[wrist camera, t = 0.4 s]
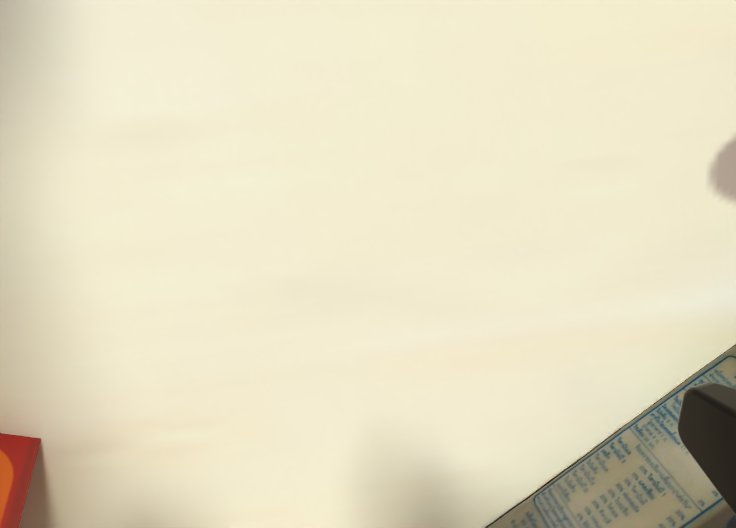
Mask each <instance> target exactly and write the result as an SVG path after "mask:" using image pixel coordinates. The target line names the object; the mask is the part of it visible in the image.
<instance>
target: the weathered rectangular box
mask: <svg viewBox="0 0 736 528" xmlns="http://www.w3.org/2000/svg"><path fill="white" fill-rule="evenodd" d="M707 382H714V383H719V384H722V385H725V386H728V387H732V388H735V389H736V345H735V346H733V347H732V348H731V349H729V350H728V351H726V352H725V353H723V354H722V355H721V356H719V357H718V358H716V359H715V360H713V361H712V362H710V363H709V364H708V365H706V366H705V367H703V368H702V369H701V370H699V371H698V372H696V373H695V374H694V375H692V376H691V377H689V378H688V379H687V380H685V381H684V382H683V383H681V384H680V385H679V386H678V387H676V388H675V389H674V390H672V391H671V392H670V393H669V394H667V395H666V396H665V397H663V398H662V399H660V400H659V401H658V402H656V403H655V404H654V405H652V406H651V407H650V408H648V409H647V410H645V411H644V412H643V413H641V414H640V415H639V416H637V417H636V418H635V419H633V420H632V421H631V422H629V423H628V424H626V425H625V426H623V427H622V428H621V429H620V430H618V431H617V432H616V433H615V434H613V435H612V436H611V437H610V438H608V439H607V440H605V441H604V442H603V443H601V444H600V445H599V446H598V447H596V448H595V449H594V450H593V451H591V452H590V453H589V454H587V455H586V456H585V457H583V458H582V459H580V460H579V461H578V462H577V463H576V464H574V465H573V466H571V467H570V468H568V469H567V470H565V471H564V472H563V473H561V474H560V475H559V476H557V477H556V478H555V479H553V480H552V481H551V482H549V483H548V484H547V485H545V486H544V487H543V488H541V489H540V490H539V491H537V492H536V493H535V494H533V495H532V496H531V497H529V498H528V499H526V500H525V501H524V502H522V503H521V504H519V505H518V506H517V507H515V508H514V509H512V510H511V511H510V512H508V513H507V514H505V515H504V516H503V517H501V518H500V519H498V520H497V521H496V522H494V523H493V524H492V525H490V526H489V527H487V528H736V515H735V514H734V512H733V511H732V510H731V508H730V507H729V506H728V504H727V503H726V502H725V500H724V499H723V498H722V496H721V495H720V494H719V492H718V491H717V489H716V488H715V487H714V485H713V484H712V483H711V481H710V480H709V479H708V477H707V476H706V474H705V473H704V472H703V470H702V469H701V468H700V466H699V465H698V464H697V462H696V461H695V460H694V458H693V457H692V455H691V454H690V453H689V451H688V450H687V449H686V447H685V446H684V444H683V443H682V441H681V439H680V437H679V433H678V428H677V425H678V419H679V414H680V409H681V404H682V399H683V395H684V392H685V391H686V390H687V389H688V388H690V387H693V386H697V385H700V384H703V383H707Z"/></svg>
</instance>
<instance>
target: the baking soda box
mask: <svg viewBox="0 0 736 528" xmlns="http://www.w3.org/2000/svg"><path fill="white" fill-rule="evenodd" d="M40 440H41V439H40V438H32V437H24V436H16V435H9V434H1V433H0V528H18V526H19V522H20V518H21V514H22V510H23V506H24V502H25V498H26V494H27V490H28V487H29V483H30V479H31V475H32V471H33V467H34V463H35V459H36V455H37V451H38V447H39V444H40Z"/></svg>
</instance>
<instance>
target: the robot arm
mask: <svg viewBox="0 0 736 528" xmlns="http://www.w3.org/2000/svg"><path fill="white" fill-rule="evenodd" d="M677 428H678V433H679V437H680V439H681V441H682V443H683V444H684V446H685V447H686V449H687V450H688V451H689V453H690V454H691V455H692V457H693V458H694V460H695V461H696V462H697V464H698V465H699V466H700V468H701V469H702V470H703V472H704V473H705V474H706V476H707V477H708V479H709V480H710V481H711V483H712V484H713V485H714V487H715V488H716V489H717V491H718V492H719V494H720V495H721V496H722V498H723V499H724V500H725V502H726V503H727V504H728V506H729V507H730V508H731V510H732V511H733V512H734V514H735V515H736V389H735V388H732V387H728V386H725V385H722V384H719V383H714V382H707V383H703V384H700V385H697V386H693V387H690V388H688V389H687V390H686V391H685V392H684V395H683V399H682V404H681V409H680V414H679V419H678V425H677Z"/></svg>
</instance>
